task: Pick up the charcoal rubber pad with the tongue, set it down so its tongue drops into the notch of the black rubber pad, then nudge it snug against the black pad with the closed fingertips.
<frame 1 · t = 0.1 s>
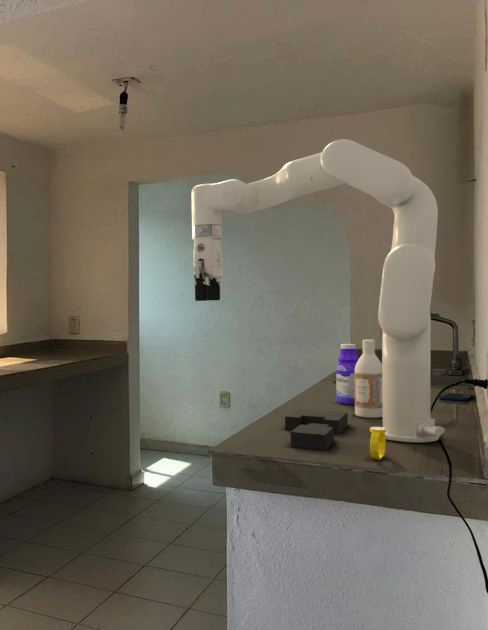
hand: (207, 300, 167), 31 cm above the worktop, tool pointing down, fingers open, 9 cm apart
bath foam: (369, 416, 170), on the worktop
watch: (378, 459, 127), on the worktop
notch pad: (316, 427, 157), on the worktop
tongue pad: (312, 444, 140), on the worktop
bottle: (349, 404, 191), on the worktop
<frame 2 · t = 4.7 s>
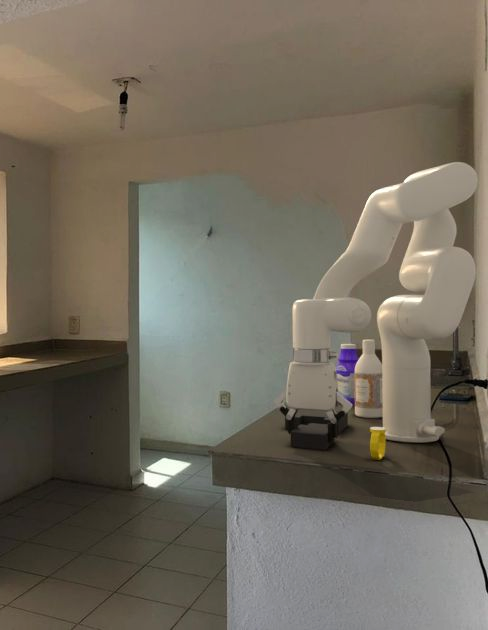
hand: (312, 438, 140), 1 cm above the worktop, tool pointing down, fingers closed on tongue pad, 7 cm apart
tongue pad: (312, 444, 140), on the worktop, touching gripper
everything else where it was.
when the fingers open (1 cm above the worktop, at t = 9.8 s): tongue pad stays where it is, on the worktop.
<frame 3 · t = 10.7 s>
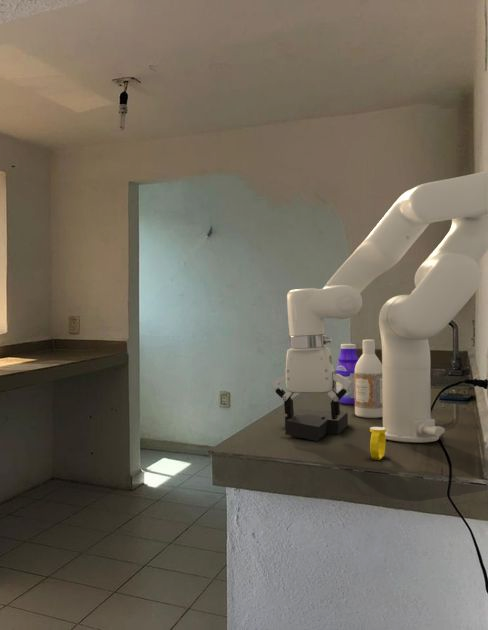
hand: (312, 417, 148), 4 cm above the worktop, tool pointing down, fingers open, 9 cm apart
tongue pad: (305, 434, 148), on the worktop, tilted 7°, touching gripper
everything else where it was.
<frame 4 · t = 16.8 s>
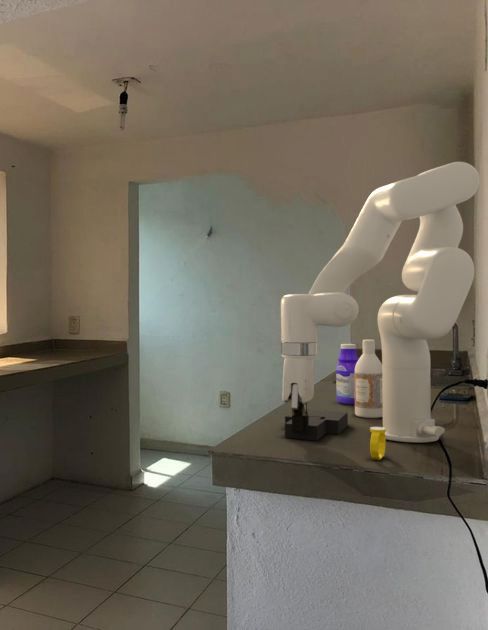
hand: (300, 433, 143), 2 cm above the worktop, tool pointing down, fingers closed
tongue pad: (305, 435, 149), on the worktop, touching gripper, notch pad
everything else where it was.
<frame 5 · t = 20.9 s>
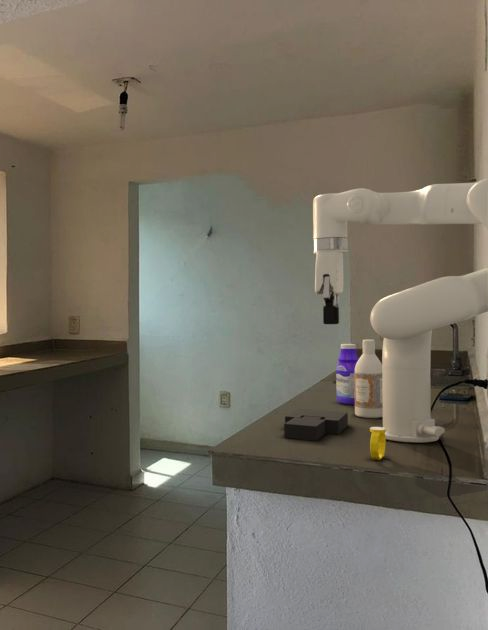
hand: (331, 323, 155), 25 cm above the worktop, tool pointing down, fingers closed
tongue pad: (305, 435, 149), on the worktop
everything else where it was.
at the end: tongue pad 0.3 cm from the target spot on the worktop beside the notch pad, on the worktop; tongue pad tilted 0°; the gripper is holding nothing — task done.
